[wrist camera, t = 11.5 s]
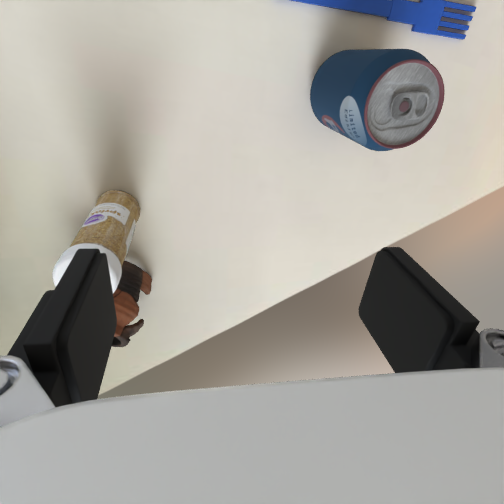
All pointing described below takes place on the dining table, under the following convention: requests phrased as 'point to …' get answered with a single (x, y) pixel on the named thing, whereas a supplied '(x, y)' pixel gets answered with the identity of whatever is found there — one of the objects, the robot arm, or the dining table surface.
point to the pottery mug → (129, 302)
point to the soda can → (378, 96)
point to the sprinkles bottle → (105, 233)
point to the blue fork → (407, 13)
